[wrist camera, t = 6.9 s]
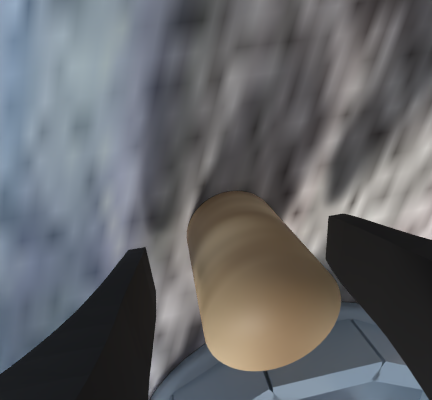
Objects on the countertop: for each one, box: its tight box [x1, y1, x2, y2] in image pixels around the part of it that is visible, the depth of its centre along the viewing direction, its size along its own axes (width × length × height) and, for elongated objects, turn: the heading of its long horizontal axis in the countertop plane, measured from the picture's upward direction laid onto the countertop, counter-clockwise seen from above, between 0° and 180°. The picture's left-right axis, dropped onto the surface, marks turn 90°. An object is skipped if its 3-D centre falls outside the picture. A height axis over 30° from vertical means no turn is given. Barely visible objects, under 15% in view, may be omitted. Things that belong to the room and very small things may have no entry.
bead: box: [187, 191, 341, 371], centre depth 10 cm, size 4×4×5 cm
